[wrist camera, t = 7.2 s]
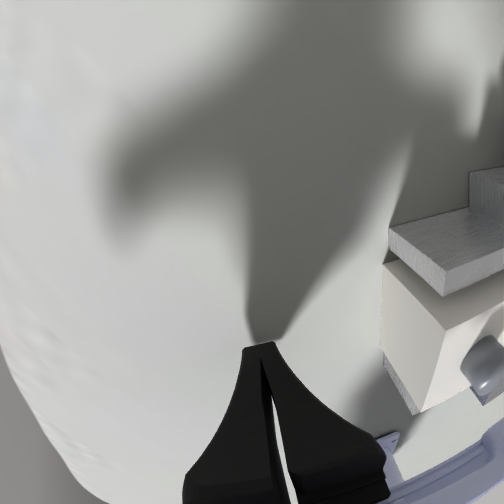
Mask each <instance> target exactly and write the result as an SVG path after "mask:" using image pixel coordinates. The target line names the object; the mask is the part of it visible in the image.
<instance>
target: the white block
mask: <svg viewBox="0 0 504 504" xmlns="http://www.w3.org/2000/svg"><path fill="white" fill-rule="evenodd" d="M379 346H380V347H381V349H382V351H383V352H384V354H385V355H386V357H387V359H388V360H389V362H390V363H391V365H392V366H393V368H394V370H395V371H396V373H397V375H398V376H399V378H400V379H401V381H402V383H403V384H404V386H405V388H406V389H407V391H408V393H409V394H410V396H411V398H412V399H413V401H414V403H415V404H416V406H417V408H418V409H419V411H420V413H421V412H423V411H425V410H427V409H429V408H431V407H433V406H435V405H437V404H439V403H441V402H443V401H445V400H447V399H449V398H450V397H452V396H454V395H456V394H458V393H459V392H461V391H463V390H465V389H466V388H468V387H470V386H472V387H473V388H474V389H475V391H476V392H477V393H478V395H479V396H483V395H486V394H488V393H489V392H491V391H492V390H493V389H494V388H496V387H497V386H498V385H499V384H500V383H501V382H502V380H503V379H504V269H503V270H501V271H499V272H497V273H495V274H493V275H490V276H488V277H486V278H484V279H482V280H480V281H478V282H475V283H473V284H471V285H469V286H467V287H464V288H462V289H460V290H457V291H455V292H453V293H450V294H448V295H446V296H443V297H442V296H441V295H440V294H439V293H438V292H437V291H436V290H435V289H434V288H433V287H431V286H430V285H429V284H428V283H427V282H426V281H425V280H424V279H423V278H422V277H421V276H419V275H418V274H417V273H416V272H415V271H414V270H413V269H412V268H411V267H409V266H408V265H407V264H406V263H405V262H404V261H403V260H402V259H398V260H395V261H392V262H388V263H385V264H382V302H381V321H380V336H379Z"/></svg>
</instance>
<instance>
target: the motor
mask: <svg viewBox="0 0 504 504" xmlns="http://www.w3.org/2000/svg"><path fill="white" fill-rule="evenodd" d="M389 249H390V250H391V251H392V252H393V253H395V254H396V255H397V256H398V257H399V258H400V259H402V260H403V261H404V262H405V263H406V264H407V265H408V266H409V267H411V268H412V269H413V270H414V271H415V272H416V273H417V274H418V275H419V276H421V277H422V278H423V279H424V280H425V281H426V282H427V283H428V284H429V285H430V286H431V287H433V288H434V289H435V290H436V291H437V292H438V293H439V294H440V295H441V296H442V297H443V296H446V295H448V294H450V293H453V292H455V291H457V290H460V289H462V288H464V287H467V286H469V285H471V284H473V283H475V282H478V281H480V280H482V279H484V278H486V277H488V276H490V275H493V274H495V273H497V272H499V271H501V270H503V269H504V167H498V168H492V169H486V170H480V171H474V172H469V207H466V208H462V209H459V210H455V211H451V212H447V213H444V214H440V215H436V216H432V217H428V218H424V219H421V220H417V221H413V222H409V223H405V224H401V225H398V226H394V227H390V228H389ZM383 365H384V367H385V369H386V370H387V372H388V374H389V375H390V377H391V379H392V380H393V382H394V384H395V385H396V387H397V389H398V391H399V392H400V394H401V396H402V397H403V399H404V401H405V403H406V404H407V406H408V408H409V410H410V411H411V413H412V415H415V414H417V413H419V412H420V411H419V409H418V408H417V406H416V404H415V403H414V401H413V399H412V398H411V396H410V394H409V393H408V391H407V389H406V388H405V386H404V384H403V383H402V381H401V379H400V378H399V376H398V375H397V373H396V371H395V370H394V368H393V366H392V365H391V363H390V362H389V360H388V359H387V357H386V355H385V354H384V362H383ZM470 389H471V390H472V391H473V393H474V394H475V395H476V397H477V398H478V400H479V401H480V402H481V404H482V405H483V406H484V405H485V404H487V403H488V402H490V401H491V400H493V399H494V398H496V397H497V396H499V395H500V394H501V393H503V392H504V379H503V380H502V382H501V383H500V384H499V385H498V386H497V387H496V388H494V389H493V390H492V391H491V392H489V393H488V394H486V395H483V396H479V395H478V393H477V392H476V391H475V389H474V388H473V387H472V386H470Z"/></svg>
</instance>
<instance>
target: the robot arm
mask: <svg viewBox="0 0 504 504" xmlns="http://www.w3.org/2000/svg"><path fill="white" fill-rule="evenodd" d="M271 395H272V396H271ZM272 398H273V401H274V404H275V407H276V411H277V416H278V421H279V426H280V431H281V436H282V441H283V446H284V452H285V457H286V463H287V468H288V472H289V475H290V478H291V480H292V483H293V486H294V488H295V492H296V496H297V500H298V504H471V503H472V502H474V501H475V500H477V499H478V498H480V497H481V496H483V495H484V494H486V493H487V492H488V491H490V490H491V489H492V488H494V487H495V486H497V485H498V484H499V483H500V482H502V481H503V480H504V418H503V419H501V420H500V421H498V422H497V423H496V424H494V425H493V426H492V427H490V428H489V429H488V430H487V431H486V432H485V433H484V434H483V436H482V437H481V439H480V440H479V441H477V442H476V443H474V444H473V445H471V446H469V447H468V448H466V449H465V450H463V451H461V452H460V453H458V454H456V455H455V456H453V457H451V458H449V459H448V460H446V461H444V462H442V463H440V464H439V465H437V466H435V467H433V468H431V469H429V470H427V471H425V472H423V473H421V474H419V475H417V476H415V477H413V478H411V479H409V480H406V481H404V480H403V478H402V475H401V473H400V471H399V469H398V466H397V464H396V462H395V460H394V457H393V453H394V450H395V448H396V445H397V442H398V440H399V437H400V434H399V432H394V433H392V434H389V435H387V436H384V437H382V438H379V439H377V440H375V439H374V437H373V436H372V435H371V434H369V433H367V432H365V431H363V430H361V429H359V428H358V427H356V426H354V425H352V424H351V423H349V422H348V421H346V420H345V419H343V418H342V417H340V416H339V415H338V414H336V413H335V412H333V411H332V410H331V409H329V408H328V407H327V406H326V405H324V404H323V403H322V402H321V401H320V400H319V399H318V398H316V397H315V396H314V395H313V394H312V393H311V392H310V391H309V390H308V389H307V388H306V387H305V386H304V385H303V383H302V382H301V381H300V380H299V379H298V378H297V377H296V375H295V374H294V373H293V371H292V370H291V369H290V368H289V366H288V365H287V363H286V362H285V361H284V359H283V357H282V356H281V354H280V352H279V350H278V348H277V346H276V344H275V342H273V341H271V342H267V343H263V344H259V345H254V346H250V347H246V348H244V349H243V350H242V360H241V366H240V371H239V375H238V379H237V383H236V386H235V390H234V392H233V395H232V398H231V401H230V404H229V406H228V409H227V411H226V414H225V416H224V418H223V420H222V422H221V424H220V426H219V428H218V430H217V432H216V433H215V435H214V437H213V439H212V440H211V442H210V443H209V445H208V446H207V448H206V449H205V451H204V452H203V454H202V455H201V456H200V458H199V459H198V460H197V462H196V463H195V464H194V465H193V466H192V468H191V469H190V470H189V471H188V472H187V473H186V475H185V479H184V484H183V491H182V500H183V504H291V502H290V498H289V494H288V490H287V486H286V481H285V477H284V473H283V468H282V464H281V460H280V455H279V450H278V446H277V440H276V433H275V424H274V414H273V405H272Z"/></svg>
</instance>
